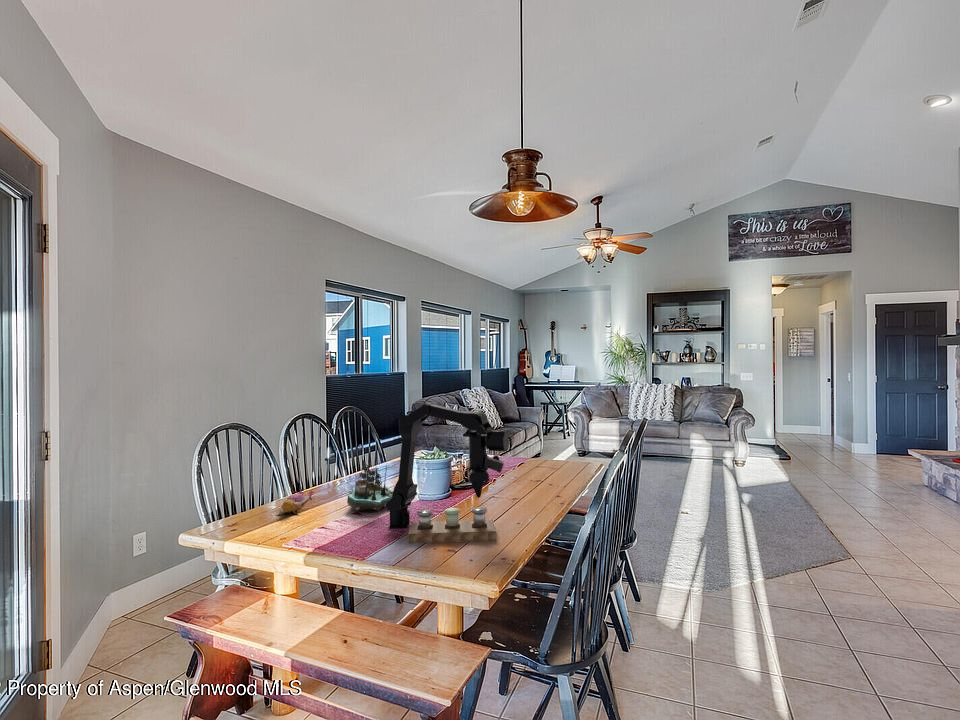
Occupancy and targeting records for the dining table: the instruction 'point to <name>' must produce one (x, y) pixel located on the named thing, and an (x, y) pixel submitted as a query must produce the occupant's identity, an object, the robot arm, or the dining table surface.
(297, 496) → the figurine
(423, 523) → the plunger
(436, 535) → the walnut board
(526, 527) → the dining table surface
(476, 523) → the plunger
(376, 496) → the diorama
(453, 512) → the sage plug
